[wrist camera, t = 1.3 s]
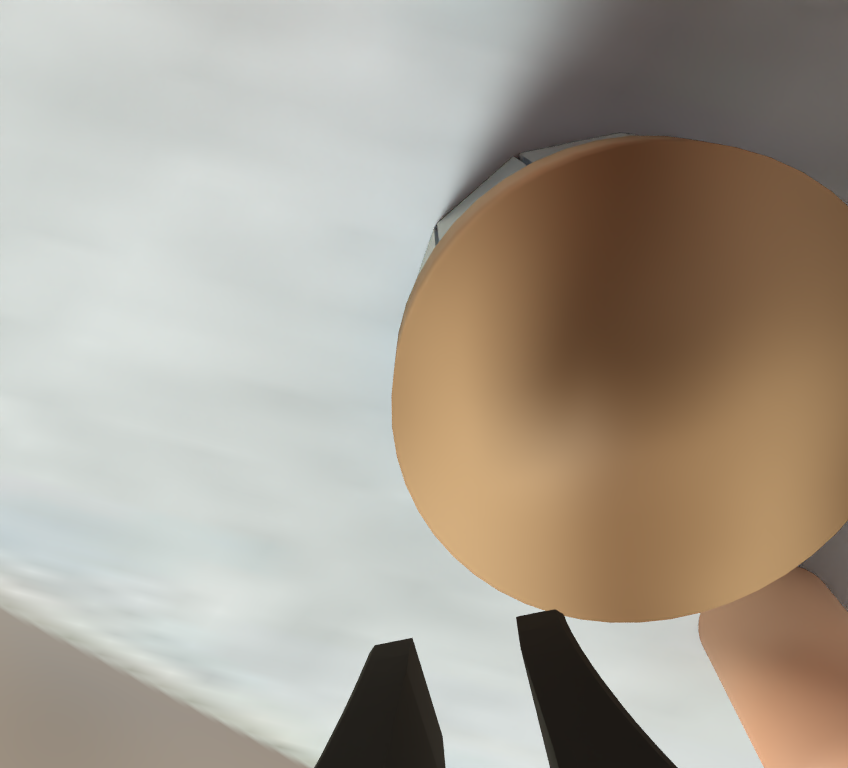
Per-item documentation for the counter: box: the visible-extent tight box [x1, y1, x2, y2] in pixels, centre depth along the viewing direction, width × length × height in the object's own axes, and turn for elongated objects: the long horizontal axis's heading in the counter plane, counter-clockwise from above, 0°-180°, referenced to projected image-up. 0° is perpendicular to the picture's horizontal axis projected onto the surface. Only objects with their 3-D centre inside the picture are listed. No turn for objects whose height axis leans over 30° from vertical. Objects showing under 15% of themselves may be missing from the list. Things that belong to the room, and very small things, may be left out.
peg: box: [698, 566, 848, 768], centre depth 20 cm, size 4×4×6 cm
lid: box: [392, 136, 848, 622], centre depth 16 cm, size 10×10×2 cm
